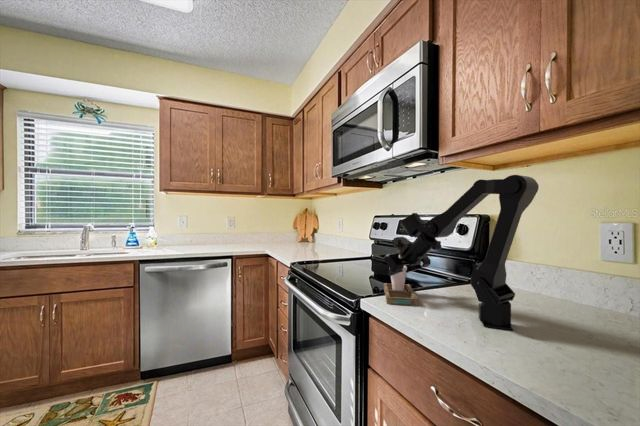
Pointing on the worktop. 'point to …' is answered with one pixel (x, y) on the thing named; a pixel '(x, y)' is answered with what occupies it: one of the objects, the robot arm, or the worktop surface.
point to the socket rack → (400, 295)
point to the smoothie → (399, 279)
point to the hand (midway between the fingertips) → (395, 274)
